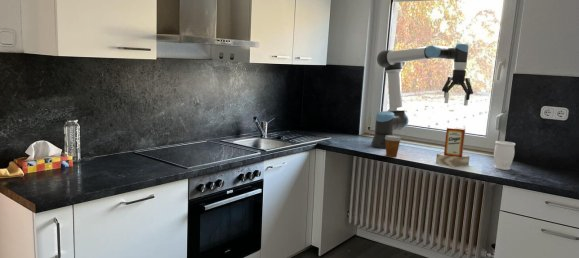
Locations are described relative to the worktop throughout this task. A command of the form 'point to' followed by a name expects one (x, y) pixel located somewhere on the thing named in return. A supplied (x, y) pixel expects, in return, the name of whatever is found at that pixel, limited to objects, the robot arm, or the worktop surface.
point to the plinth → (452, 160)
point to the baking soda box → (454, 141)
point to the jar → (503, 154)
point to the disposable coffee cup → (392, 145)
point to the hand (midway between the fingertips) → (455, 104)
